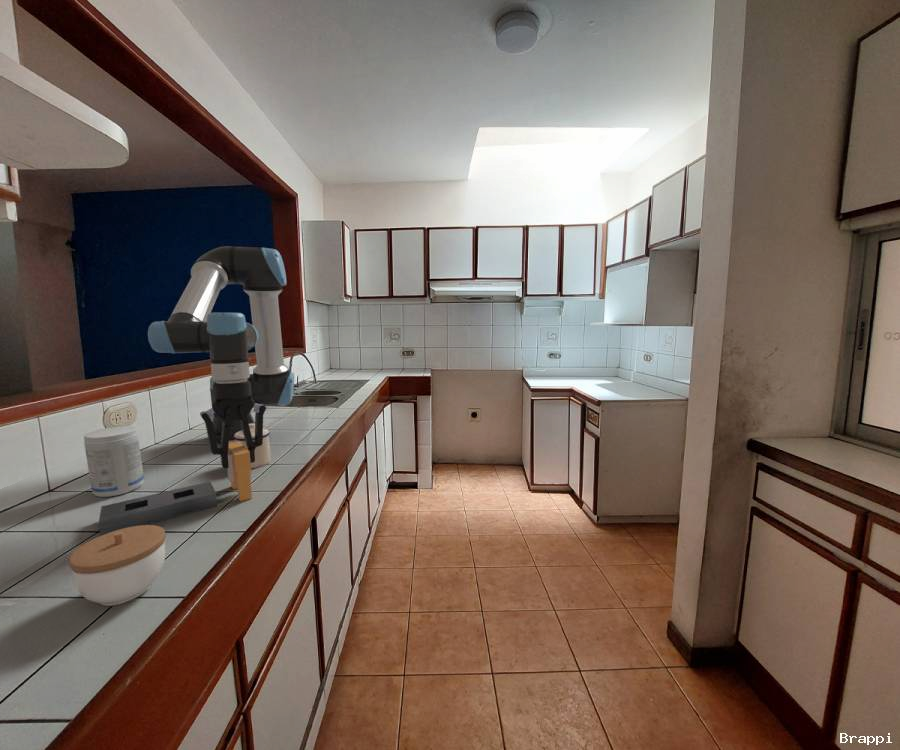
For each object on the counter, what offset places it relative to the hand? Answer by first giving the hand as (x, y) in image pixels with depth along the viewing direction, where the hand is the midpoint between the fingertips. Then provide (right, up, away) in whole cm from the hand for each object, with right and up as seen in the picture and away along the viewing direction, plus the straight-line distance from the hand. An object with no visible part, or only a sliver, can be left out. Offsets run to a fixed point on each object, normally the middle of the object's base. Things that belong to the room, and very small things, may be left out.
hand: (240, 477), depth 89 cm
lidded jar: (+1, -9, -32) cm, 33 cm away
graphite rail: (-12, -5, -9) cm, 15 cm away
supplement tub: (-31, -4, +2) cm, 31 cm away
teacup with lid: (-8, -1, +18) cm, 20 cm away
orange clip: (0, -4, +1) cm, 4 cm away
